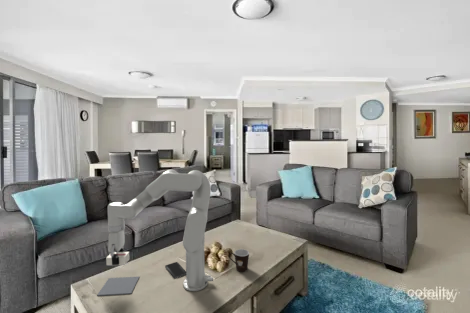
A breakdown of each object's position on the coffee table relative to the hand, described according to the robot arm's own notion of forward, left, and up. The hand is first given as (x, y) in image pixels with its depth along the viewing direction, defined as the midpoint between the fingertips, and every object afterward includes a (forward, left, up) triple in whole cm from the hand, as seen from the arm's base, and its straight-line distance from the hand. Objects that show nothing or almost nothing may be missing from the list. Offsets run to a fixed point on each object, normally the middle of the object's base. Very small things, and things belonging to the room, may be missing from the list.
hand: (118, 260), depth 127 cm
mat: (0, 0, -14) cm, 14 cm away
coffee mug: (-64, -11, -14) cm, 66 cm away
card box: (0, 0, -1) cm, 1 cm away
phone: (-27, -12, -14) cm, 33 cm away
